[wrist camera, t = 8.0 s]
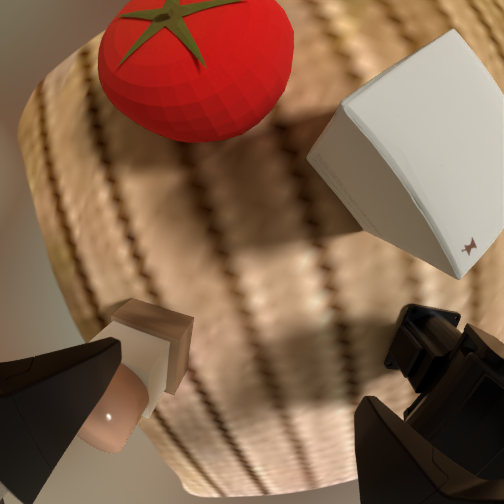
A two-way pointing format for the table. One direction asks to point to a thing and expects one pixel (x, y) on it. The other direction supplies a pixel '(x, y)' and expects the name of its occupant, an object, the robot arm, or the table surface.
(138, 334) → the cream block
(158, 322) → the walnut base block
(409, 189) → the supplement box
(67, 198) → the table surface
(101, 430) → the brown rounded lump
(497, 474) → the robot arm
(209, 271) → the table surface
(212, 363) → the table surface
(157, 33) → the tomato
